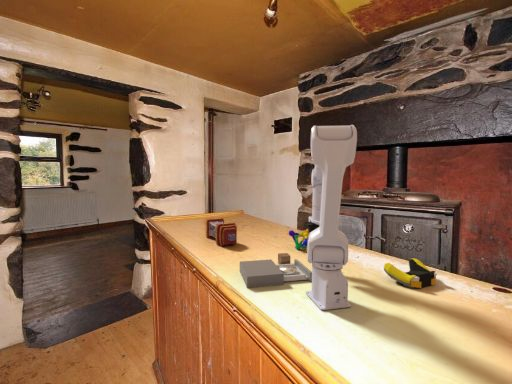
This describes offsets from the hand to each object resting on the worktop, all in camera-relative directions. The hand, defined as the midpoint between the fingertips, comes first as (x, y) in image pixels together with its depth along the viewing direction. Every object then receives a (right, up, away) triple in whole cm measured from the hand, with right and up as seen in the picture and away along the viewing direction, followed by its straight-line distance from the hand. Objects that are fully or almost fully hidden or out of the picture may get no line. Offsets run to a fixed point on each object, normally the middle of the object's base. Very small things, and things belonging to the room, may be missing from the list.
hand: (320, 247), depth 85 cm
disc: (-11, -8, -2) cm, 13 cm away
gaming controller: (+27, -9, -6) cm, 29 cm away
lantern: (-38, -6, +40) cm, 56 cm away
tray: (-11, -8, -2) cm, 13 cm away
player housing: (-19, -9, -4) cm, 22 cm away
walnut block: (-11, -8, +8) cm, 16 cm away
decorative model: (+1, -7, +28) cm, 29 cm away
